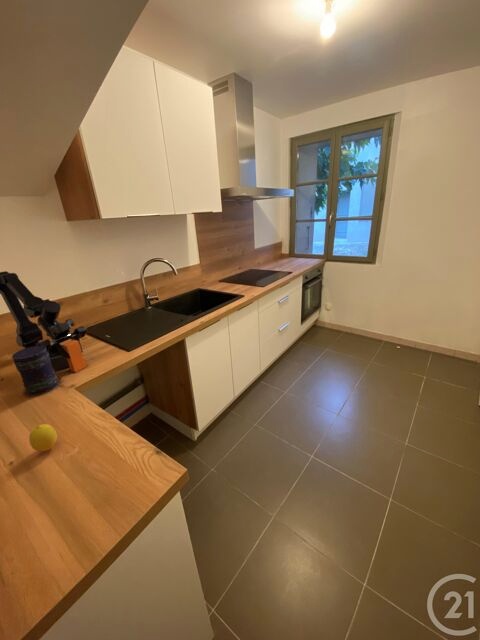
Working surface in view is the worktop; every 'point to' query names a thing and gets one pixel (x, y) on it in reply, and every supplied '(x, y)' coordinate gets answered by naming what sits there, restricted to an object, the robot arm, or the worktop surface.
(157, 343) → the worktop surface
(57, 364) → the dark grey open box
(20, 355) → the storage jar
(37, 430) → the lemon
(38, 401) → the worktop surface
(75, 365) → the block
